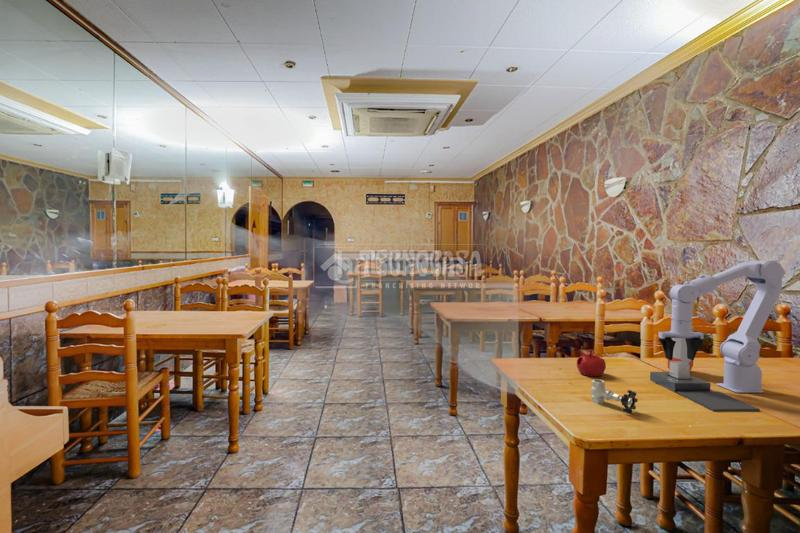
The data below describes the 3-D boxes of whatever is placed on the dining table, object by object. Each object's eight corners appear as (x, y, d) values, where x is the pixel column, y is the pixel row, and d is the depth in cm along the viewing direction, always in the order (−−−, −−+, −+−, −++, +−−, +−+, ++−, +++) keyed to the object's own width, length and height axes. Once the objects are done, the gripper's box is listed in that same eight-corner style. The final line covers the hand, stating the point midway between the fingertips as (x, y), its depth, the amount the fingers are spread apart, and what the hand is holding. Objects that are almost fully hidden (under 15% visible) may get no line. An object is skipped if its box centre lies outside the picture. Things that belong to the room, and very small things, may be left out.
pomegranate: (609, 374, 146) (610, 350, 146) (599, 380, 139) (600, 354, 139) (582, 368, 153) (583, 344, 153) (571, 373, 147) (572, 349, 146)
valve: (585, 401, 120) (624, 416, 109) (585, 380, 119) (625, 393, 109) (597, 397, 123) (637, 411, 113) (598, 377, 123) (638, 389, 113)
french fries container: (666, 372, 149) (668, 325, 148) (679, 368, 155) (681, 323, 154) (679, 376, 145) (682, 328, 144) (693, 371, 151) (695, 325, 150)
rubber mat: (718, 393, 128) (718, 391, 128) (759, 411, 114) (759, 408, 114) (677, 393, 127) (677, 391, 127) (713, 411, 113) (713, 409, 113)
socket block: (682, 380, 141) (682, 371, 141) (710, 392, 129) (710, 383, 129) (650, 380, 140) (650, 371, 140) (674, 392, 128) (675, 383, 128)
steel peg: (680, 384, 136) (681, 361, 136) (688, 388, 132) (690, 364, 132) (668, 384, 136) (669, 361, 136) (677, 388, 132) (678, 364, 132)
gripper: (692, 317, 138) (691, 356, 138) (652, 317, 137) (651, 355, 138) (709, 321, 131) (707, 361, 131) (667, 321, 130) (665, 361, 131)
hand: (679, 359), depth 134 cm, fingers open, 7 cm apart
